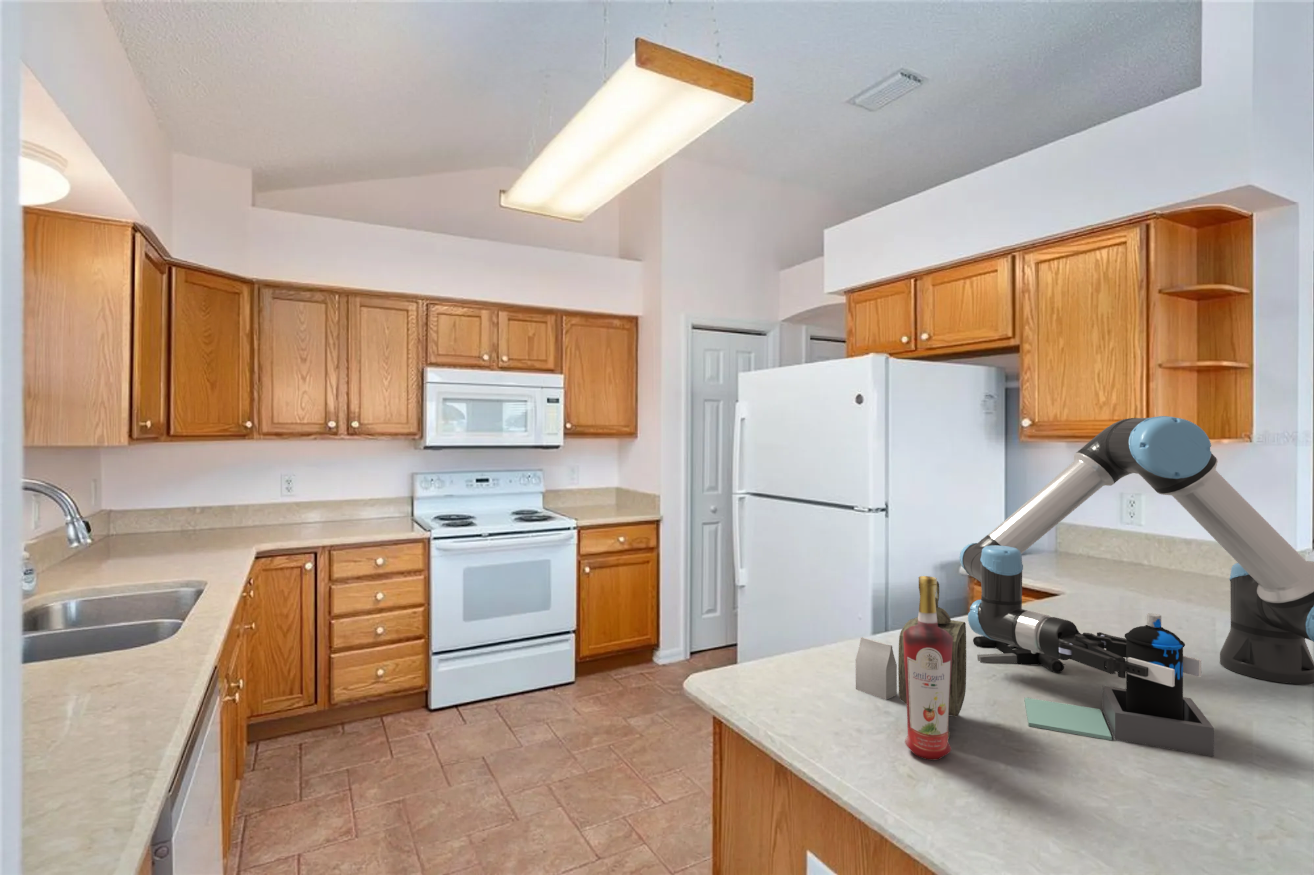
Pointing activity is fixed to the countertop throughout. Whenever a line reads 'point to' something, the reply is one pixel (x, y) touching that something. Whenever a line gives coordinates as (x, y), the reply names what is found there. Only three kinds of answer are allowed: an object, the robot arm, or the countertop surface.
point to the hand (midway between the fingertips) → (1186, 673)
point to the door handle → (1015, 655)
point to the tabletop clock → (958, 658)
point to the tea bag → (876, 669)
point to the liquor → (927, 678)
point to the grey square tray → (1158, 725)
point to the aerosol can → (1160, 650)
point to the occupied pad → (1066, 718)
